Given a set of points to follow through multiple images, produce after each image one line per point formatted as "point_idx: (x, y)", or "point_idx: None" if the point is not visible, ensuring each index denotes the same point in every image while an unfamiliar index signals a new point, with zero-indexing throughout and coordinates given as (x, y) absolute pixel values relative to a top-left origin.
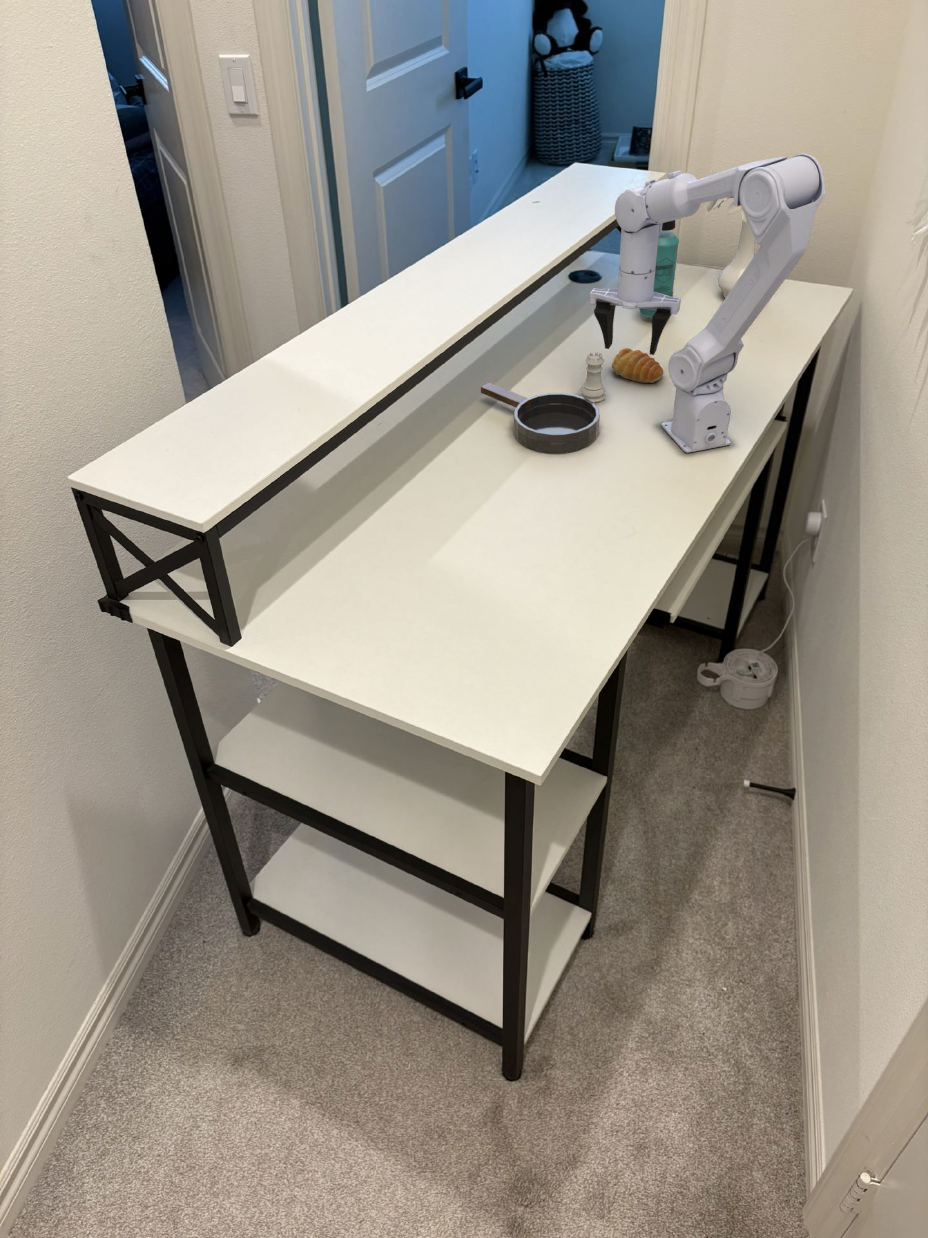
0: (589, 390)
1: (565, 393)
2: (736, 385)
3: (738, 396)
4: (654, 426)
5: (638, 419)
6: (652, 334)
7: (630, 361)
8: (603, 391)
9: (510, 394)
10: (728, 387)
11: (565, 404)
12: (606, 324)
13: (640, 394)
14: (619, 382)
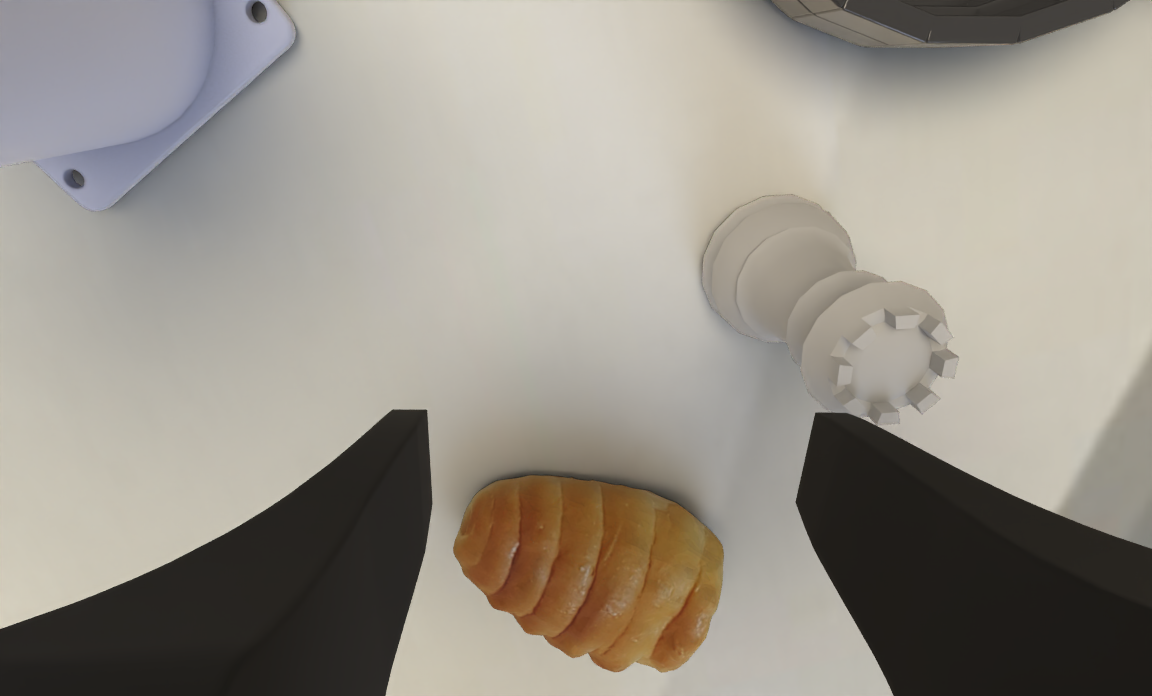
0: (810, 225)
1: (992, 37)
2: (111, 569)
3: (51, 481)
4: (340, 22)
5: (460, 86)
6: (346, 513)
7: (631, 562)
8: (722, 264)
9: None
10: (138, 544)
11: (946, 6)
12: (1033, 540)
13: (526, 369)
14: (656, 451)
